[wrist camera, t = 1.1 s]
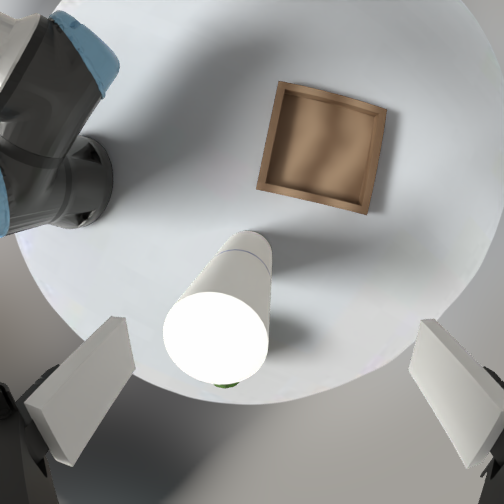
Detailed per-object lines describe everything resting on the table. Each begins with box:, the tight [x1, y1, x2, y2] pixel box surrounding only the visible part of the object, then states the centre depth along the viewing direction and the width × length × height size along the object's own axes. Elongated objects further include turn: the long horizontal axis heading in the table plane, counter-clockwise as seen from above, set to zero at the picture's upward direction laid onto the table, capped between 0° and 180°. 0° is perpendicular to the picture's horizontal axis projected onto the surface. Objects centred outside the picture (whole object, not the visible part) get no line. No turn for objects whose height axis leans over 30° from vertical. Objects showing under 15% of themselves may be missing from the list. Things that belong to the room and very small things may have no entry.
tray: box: [256, 81, 387, 215], centre depth 38 cm, size 15×15×3 cm
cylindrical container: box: [163, 231, 272, 385], centre depth 32 cm, size 7×7×25 cm
